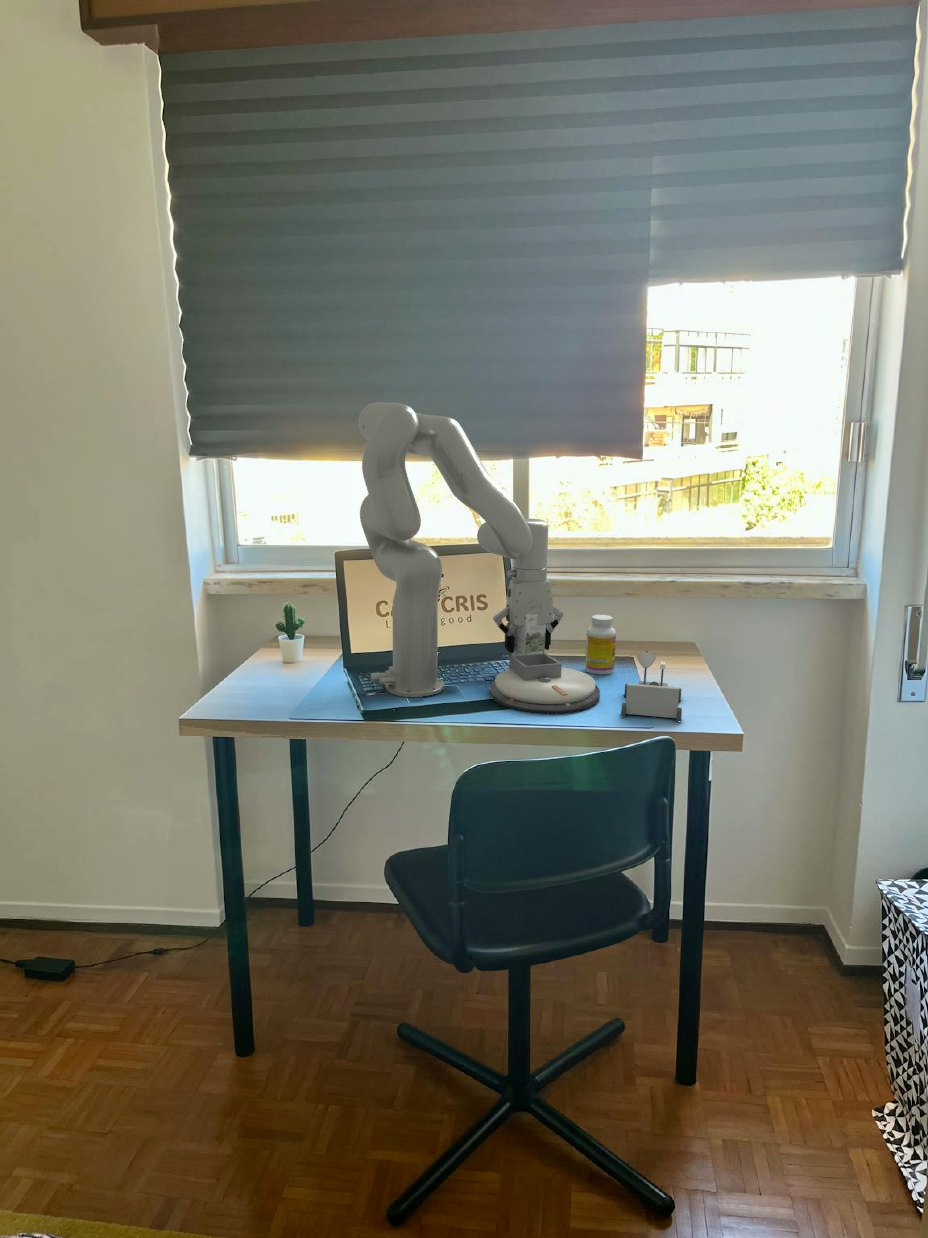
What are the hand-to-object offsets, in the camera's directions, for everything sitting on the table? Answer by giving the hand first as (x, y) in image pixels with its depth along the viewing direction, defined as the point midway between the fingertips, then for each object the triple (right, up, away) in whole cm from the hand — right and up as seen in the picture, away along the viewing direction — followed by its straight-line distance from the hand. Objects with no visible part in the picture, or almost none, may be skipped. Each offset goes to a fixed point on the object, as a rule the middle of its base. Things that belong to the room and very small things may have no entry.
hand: (527, 649), depth 207 cm
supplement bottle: (+17, -5, +2) cm, 17 cm away
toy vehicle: (+24, -11, -20) cm, 33 cm away
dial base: (+3, -9, -15) cm, 18 cm away
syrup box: (0, -5, +1) cm, 5 cm away
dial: (+3, -7, -16) cm, 18 cm away
